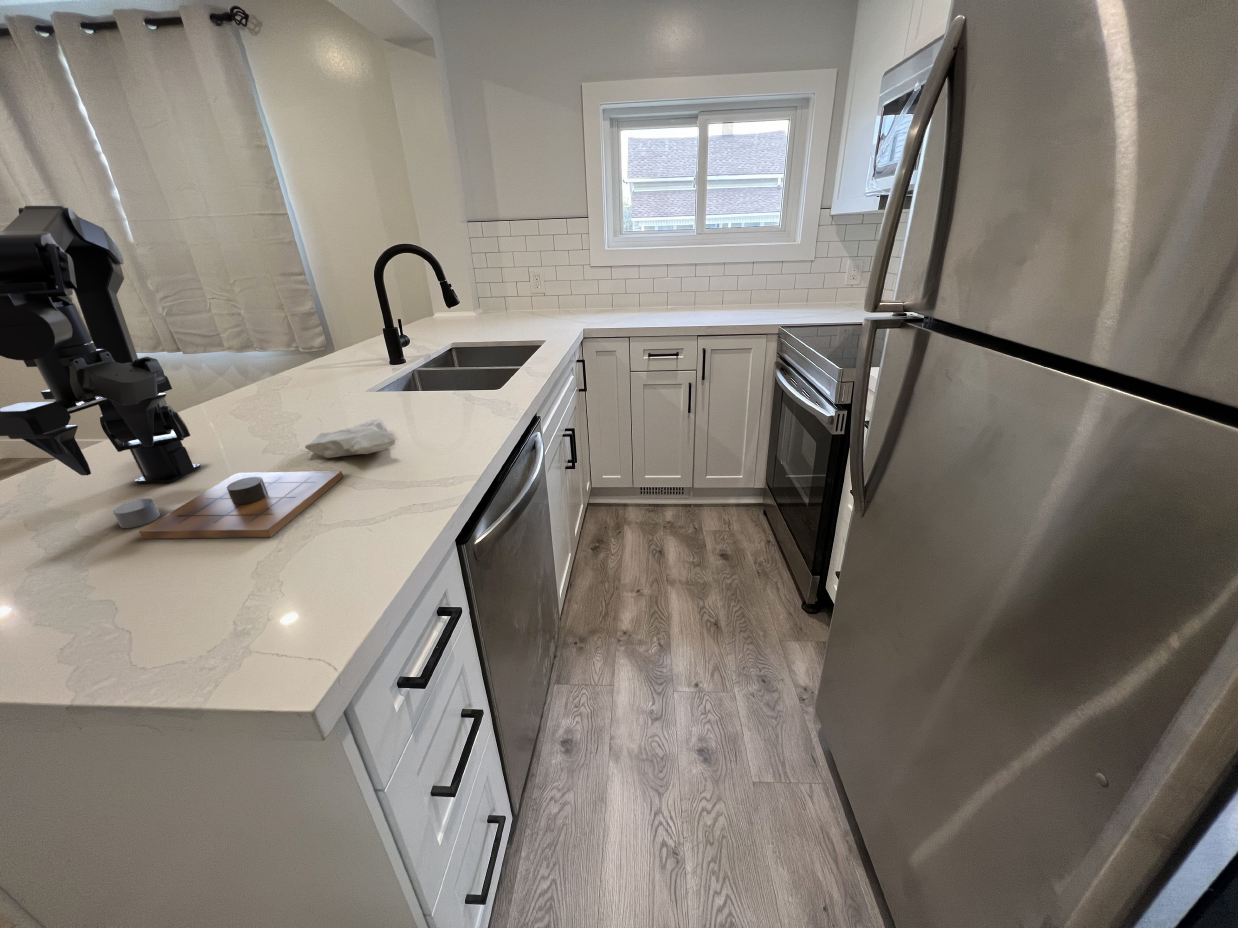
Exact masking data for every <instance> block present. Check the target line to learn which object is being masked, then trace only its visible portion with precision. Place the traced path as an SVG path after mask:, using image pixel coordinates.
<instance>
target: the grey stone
mask: <svg viewBox="0 0 1238 928" xmlns="http://www.w3.org/2000/svg"><path fill="white" fill-rule="evenodd" d="M112 514H113V516H114V518H115V520H116V521H117V524H118V525H119V527H120V528H122V529H132V528H138V527H141V526H144V525H147V524H149V523H150V524H151V523H153V522H155V521H156V520H158V518H159V517H160V516H161V513H160V511H159V508H158V507H157V505H156V502H155V501H154V499H153V498H149V497H148V498H147V497H146V498H139V499H134V500H130V501H127V502H125V503H122V504H120V505H118V506H116V507H114V508H113V509H112Z"/></svg>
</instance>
